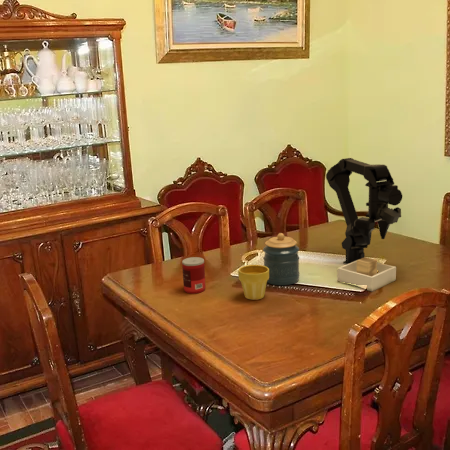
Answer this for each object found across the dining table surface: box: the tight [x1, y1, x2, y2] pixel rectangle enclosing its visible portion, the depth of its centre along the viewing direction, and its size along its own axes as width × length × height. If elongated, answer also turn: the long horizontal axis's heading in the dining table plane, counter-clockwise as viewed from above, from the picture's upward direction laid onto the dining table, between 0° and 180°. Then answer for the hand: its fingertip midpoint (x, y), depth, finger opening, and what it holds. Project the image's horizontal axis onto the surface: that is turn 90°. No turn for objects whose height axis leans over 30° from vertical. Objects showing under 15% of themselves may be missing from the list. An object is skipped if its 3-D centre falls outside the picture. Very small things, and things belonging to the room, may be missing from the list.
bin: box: [336, 260, 397, 292], centre depth 209 cm, size 15×15×5 cm
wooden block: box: [357, 256, 378, 277], centre depth 208 cm, size 5×5×7 cm
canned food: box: [181, 256, 206, 295], centre depth 206 cm, size 8×8×11 cm
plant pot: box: [237, 264, 269, 301], centre depth 198 cm, size 10×10×10 cm
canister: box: [262, 232, 300, 286], centre depth 212 cm, size 13×13×18 cm
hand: (375, 241), depth 214 cm, fingers open, 9 cm apart
